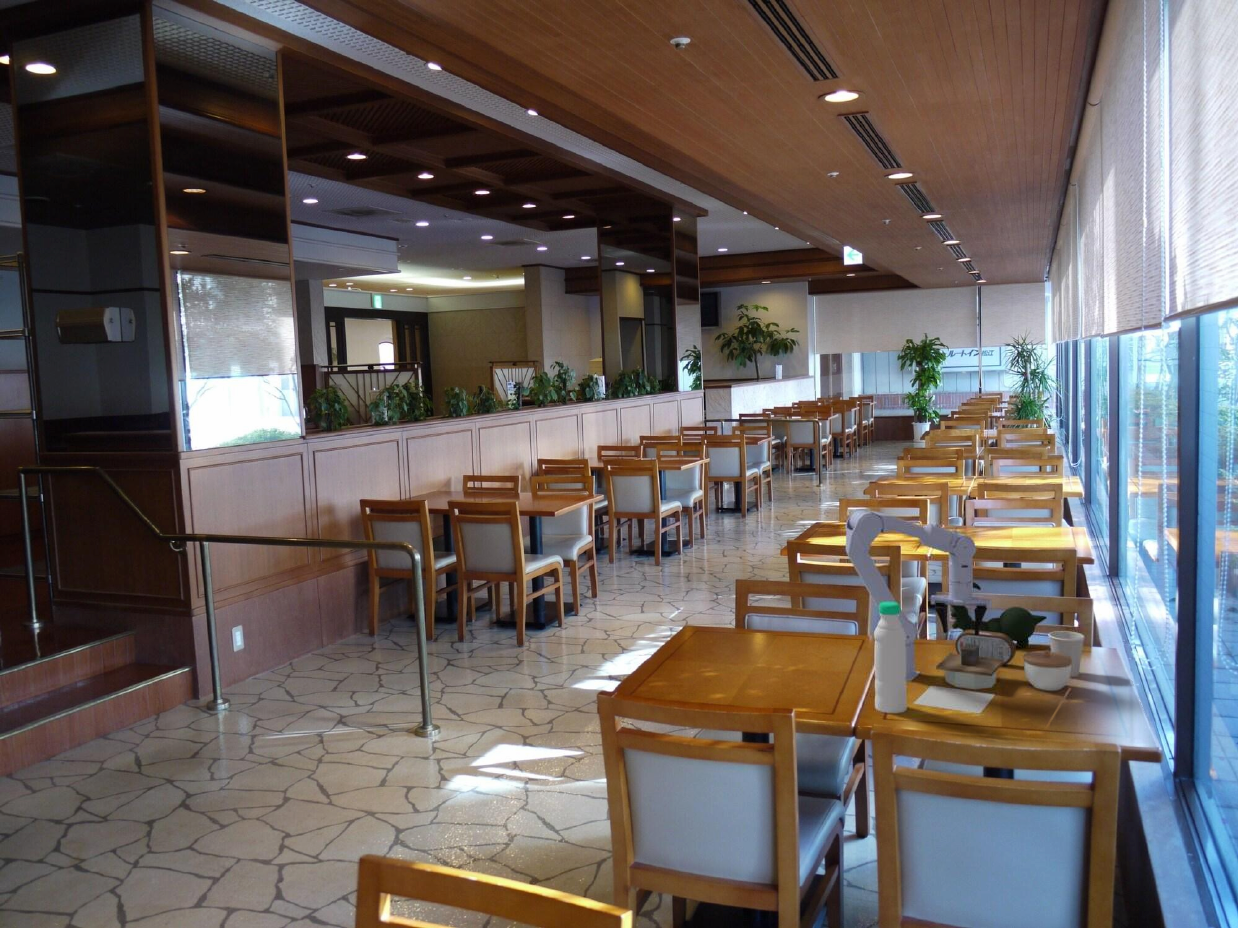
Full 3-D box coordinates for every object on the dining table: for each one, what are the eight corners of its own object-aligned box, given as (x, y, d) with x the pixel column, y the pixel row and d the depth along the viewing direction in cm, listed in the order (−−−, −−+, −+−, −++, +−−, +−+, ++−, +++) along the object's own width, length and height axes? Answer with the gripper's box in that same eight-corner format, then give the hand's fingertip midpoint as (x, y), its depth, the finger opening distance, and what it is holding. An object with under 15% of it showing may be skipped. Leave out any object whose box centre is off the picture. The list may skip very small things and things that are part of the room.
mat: (913, 705, 230) (913, 703, 230) (931, 687, 242) (931, 685, 242) (979, 715, 222) (979, 713, 222) (995, 695, 234) (995, 694, 234)
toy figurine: (952, 651, 278) (1048, 651, 267) (945, 585, 277) (1041, 582, 266) (957, 643, 286) (1050, 642, 275) (950, 578, 286) (1043, 575, 274)
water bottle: (901, 716, 222) (900, 607, 220) (870, 712, 226) (869, 604, 224) (910, 707, 228) (909, 601, 226) (880, 703, 232) (878, 598, 230)
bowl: (941, 686, 243) (941, 668, 242) (953, 674, 252) (953, 656, 252) (988, 692, 237) (988, 674, 236) (999, 679, 246) (999, 662, 246)
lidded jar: (1076, 695, 232) (1076, 656, 231) (1028, 694, 234) (1028, 655, 233) (1065, 682, 242) (1066, 644, 242) (1019, 680, 245) (1019, 643, 244)
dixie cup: (1064, 667, 254) (1064, 629, 254) (1092, 675, 247) (1092, 636, 246) (1040, 672, 251) (1040, 633, 250) (1068, 680, 243) (1068, 641, 243)
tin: (1016, 665, 258) (1016, 633, 257) (1013, 668, 255) (1013, 636, 255) (957, 658, 266) (956, 627, 265) (954, 661, 263) (953, 630, 263)
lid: (936, 669, 242) (936, 650, 241) (950, 655, 253) (950, 637, 252) (991, 676, 235) (991, 656, 234) (1003, 662, 246) (1003, 643, 245)
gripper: (928, 582, 250) (928, 634, 251) (988, 585, 243) (988, 639, 245) (933, 576, 257) (934, 628, 258) (992, 580, 250) (993, 633, 251)
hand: (961, 633), depth 252 cm, fingers open, 7 cm apart
